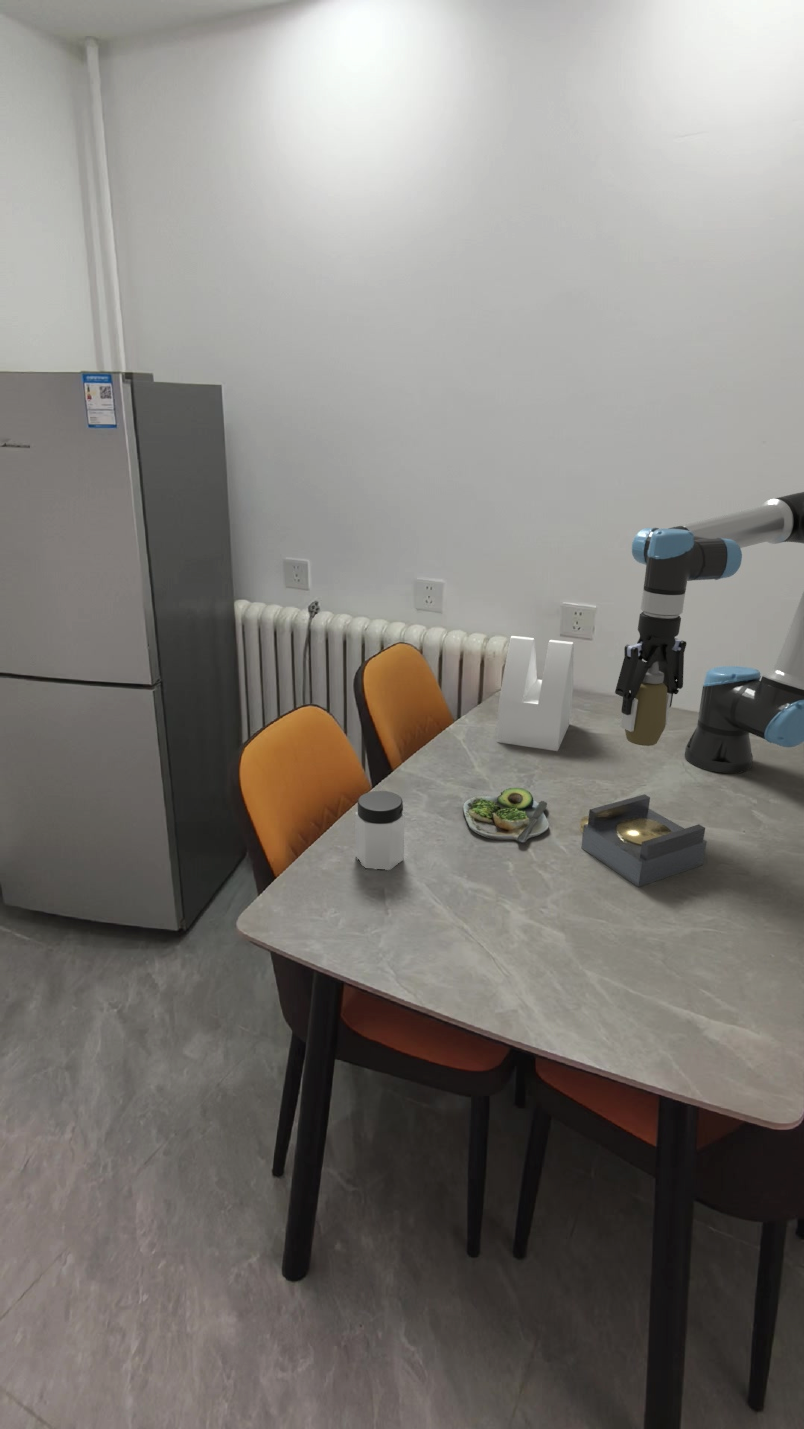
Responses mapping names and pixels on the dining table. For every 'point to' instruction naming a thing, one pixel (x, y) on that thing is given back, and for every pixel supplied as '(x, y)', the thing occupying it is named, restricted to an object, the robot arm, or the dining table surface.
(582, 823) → the brass dome knob
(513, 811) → the avocado toast plate
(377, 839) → the jar
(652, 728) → the squeeze bottle
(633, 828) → the grey rimmed block
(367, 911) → the dining table surface
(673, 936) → the dining table surface
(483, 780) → the dining table surface
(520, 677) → the white notched stand
